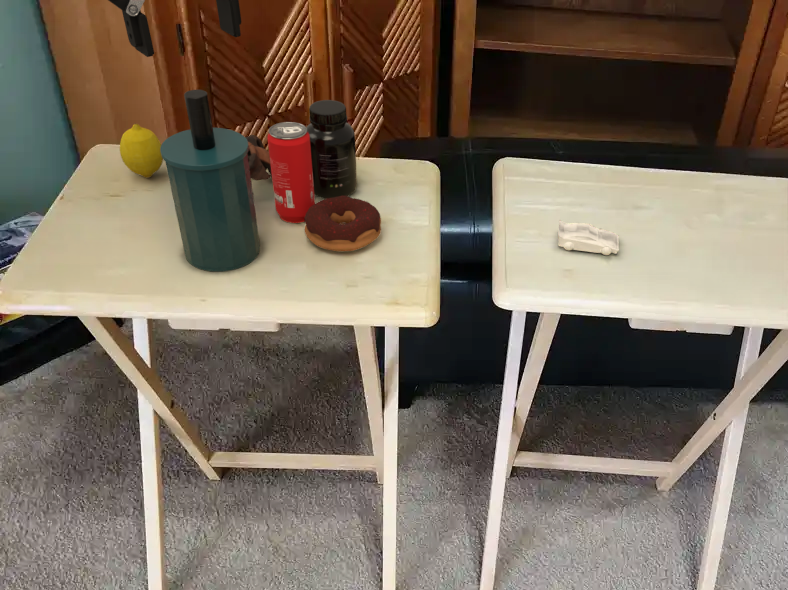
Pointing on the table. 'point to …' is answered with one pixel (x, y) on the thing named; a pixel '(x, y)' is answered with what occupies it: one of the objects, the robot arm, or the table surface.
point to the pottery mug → (258, 159)
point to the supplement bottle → (332, 150)
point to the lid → (203, 140)
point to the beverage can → (291, 170)
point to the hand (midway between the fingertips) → (189, 42)
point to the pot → (216, 216)
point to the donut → (342, 237)
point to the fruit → (141, 151)
